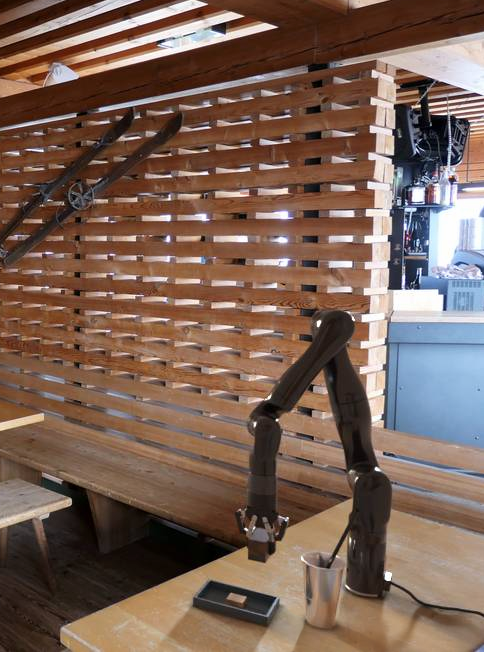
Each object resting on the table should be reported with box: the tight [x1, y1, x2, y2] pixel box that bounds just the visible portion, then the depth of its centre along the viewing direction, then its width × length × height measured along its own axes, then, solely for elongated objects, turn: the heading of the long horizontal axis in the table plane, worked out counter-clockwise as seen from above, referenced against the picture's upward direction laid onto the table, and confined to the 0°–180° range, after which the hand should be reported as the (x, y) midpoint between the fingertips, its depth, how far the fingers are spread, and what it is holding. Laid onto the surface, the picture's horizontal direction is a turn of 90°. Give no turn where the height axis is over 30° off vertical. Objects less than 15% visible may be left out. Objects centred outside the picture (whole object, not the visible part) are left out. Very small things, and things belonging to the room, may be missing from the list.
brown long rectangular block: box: [247, 527, 272, 564], centre depth 195 cm, size 4×9×6 cm, turn 148°
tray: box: [192, 578, 281, 627], centre depth 185 cm, size 18×12×2 cm
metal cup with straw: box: [299, 509, 359, 630], centre depth 176 cm, size 11×11×30 cm
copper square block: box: [226, 593, 247, 609], centre depth 185 cm, size 4×4×2 cm
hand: (260, 552), depth 195 cm, fingers closed on brown long rectangular block, 4 cm apart
